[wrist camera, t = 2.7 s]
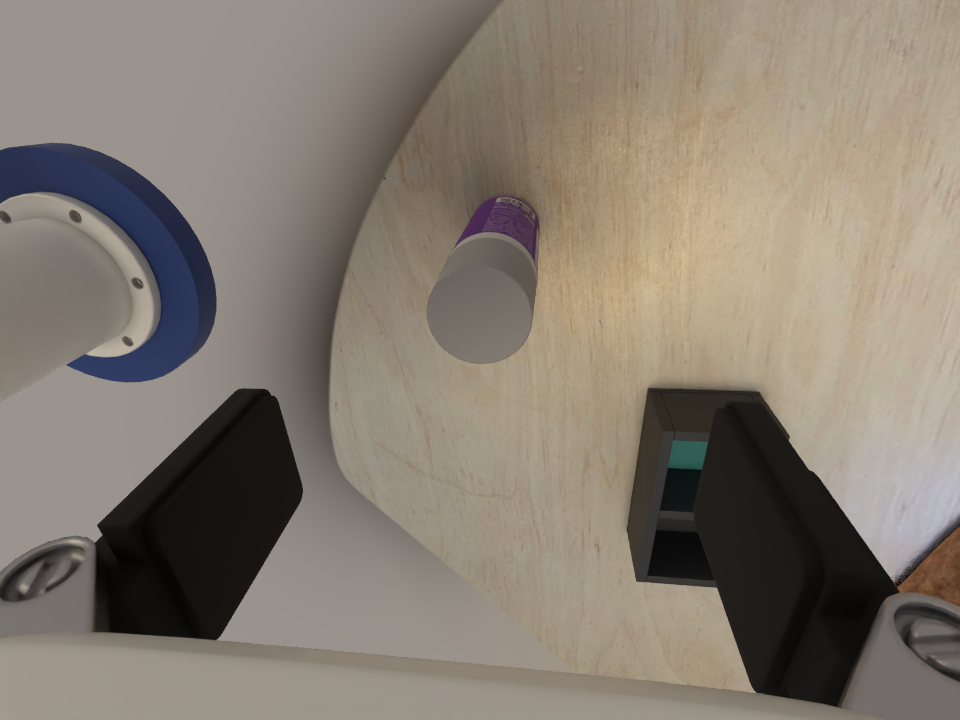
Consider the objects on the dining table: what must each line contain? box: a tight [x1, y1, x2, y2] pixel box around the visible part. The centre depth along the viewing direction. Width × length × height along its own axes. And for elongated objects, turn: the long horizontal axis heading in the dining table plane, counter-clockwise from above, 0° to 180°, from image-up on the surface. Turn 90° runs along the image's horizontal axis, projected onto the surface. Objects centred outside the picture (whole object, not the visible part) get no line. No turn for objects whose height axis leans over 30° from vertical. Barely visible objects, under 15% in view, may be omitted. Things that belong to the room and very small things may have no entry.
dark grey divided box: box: [627, 389, 790, 588], centre depth 39 cm, size 8×15×6 cm, turn 2°
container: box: [427, 194, 539, 364], centre depth 27 cm, size 5×5×15 cm
